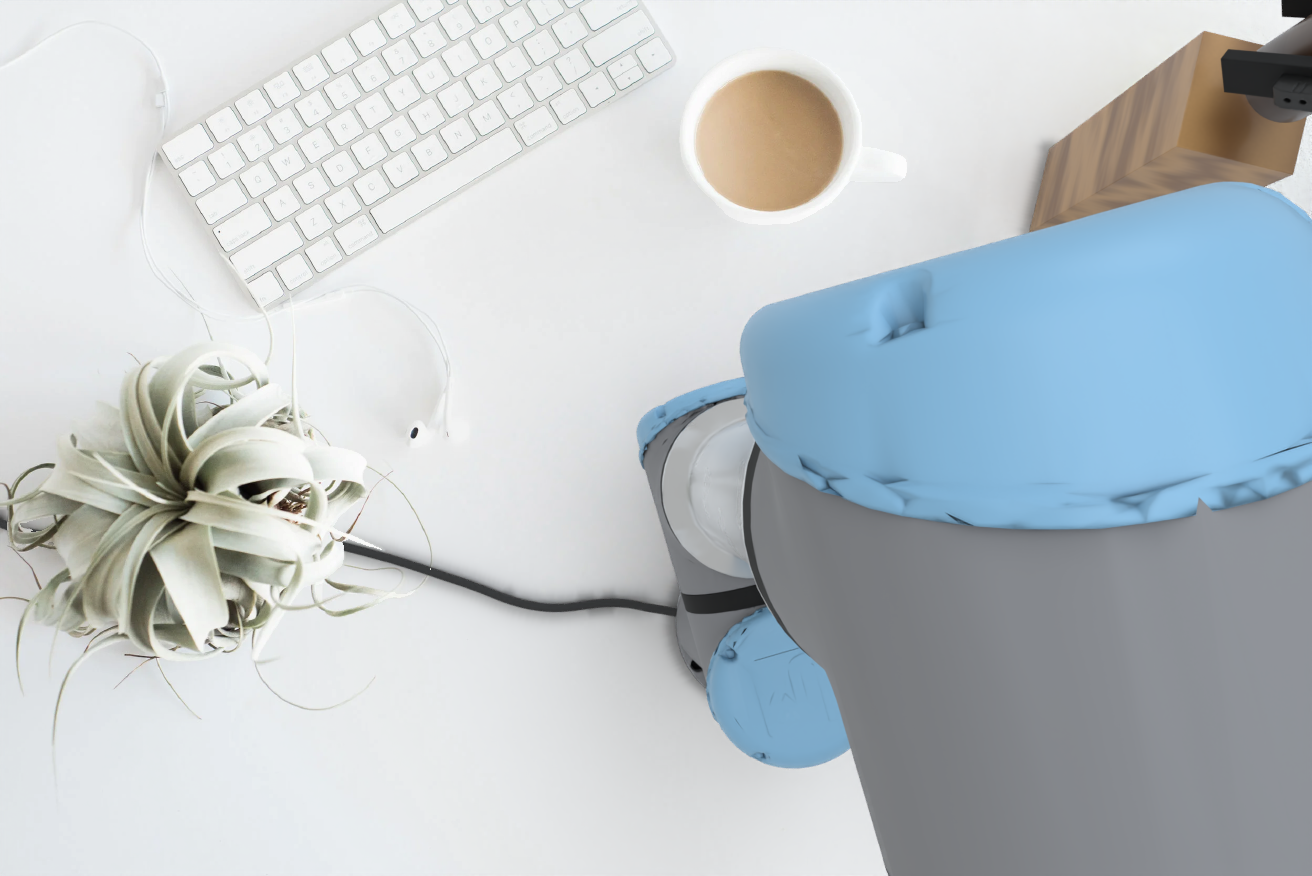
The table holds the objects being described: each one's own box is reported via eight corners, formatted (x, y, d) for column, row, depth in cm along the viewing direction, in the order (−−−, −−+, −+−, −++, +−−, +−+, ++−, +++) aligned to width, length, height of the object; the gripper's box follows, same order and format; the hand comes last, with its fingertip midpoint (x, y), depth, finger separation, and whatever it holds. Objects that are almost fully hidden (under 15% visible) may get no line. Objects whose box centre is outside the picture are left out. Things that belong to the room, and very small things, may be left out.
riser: (1028, 231, 77) (1176, 146, 55) (1049, 148, 77) (1204, 30, 55) (1112, 252, 77) (1293, 174, 55) (1132, 168, 77) (1321, 58, 55)
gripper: (1702, 303, 37) (1172, 191, 53) (1949, -23, 37) (1344, -34, 53) (1768, 192, 31) (1156, 106, 48) (2056, -188, 31) (1347, -143, 48)
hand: (1256, 32), depth 50 cm, fingers closed on pepper mill, 5 cm apart
